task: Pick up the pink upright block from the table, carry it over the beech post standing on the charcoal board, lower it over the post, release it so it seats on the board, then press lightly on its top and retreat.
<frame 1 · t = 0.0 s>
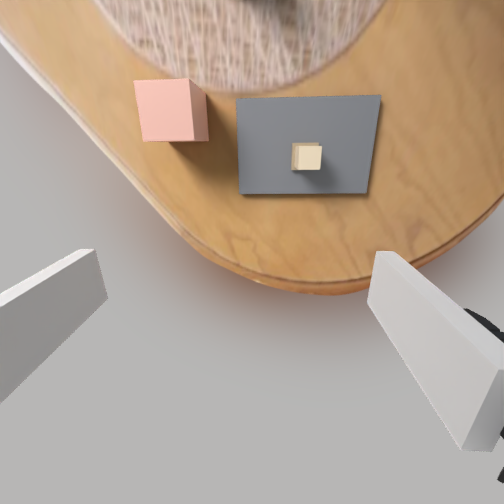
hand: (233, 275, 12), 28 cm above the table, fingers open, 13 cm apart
pink upright block: (186, 118, 35), on the table
post board: (303, 148, 36), on the table
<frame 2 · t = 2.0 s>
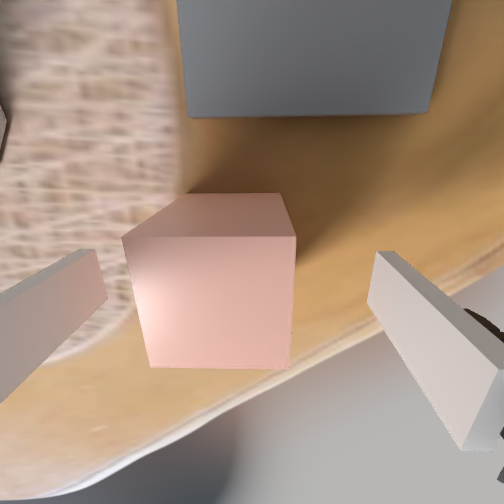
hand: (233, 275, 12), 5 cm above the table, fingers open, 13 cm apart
pink upright block: (234, 237, 17), on the table
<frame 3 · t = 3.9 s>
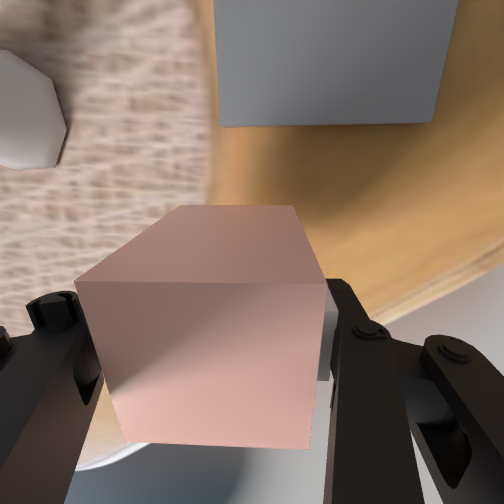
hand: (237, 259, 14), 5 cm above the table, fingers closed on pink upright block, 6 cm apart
pink upright block: (237, 257, 14), point 5 cm above the table, touching gripper
flask: (19, 115, 17), on the table
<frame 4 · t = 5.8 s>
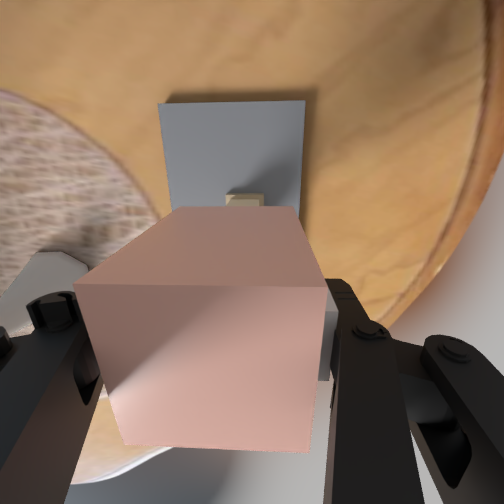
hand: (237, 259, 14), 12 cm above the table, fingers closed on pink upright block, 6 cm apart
pink upright block: (237, 258, 14), point 12 cm above the table, touching gripper
post board: (236, 208, 25), on the table
flask: (65, 277, 30), on the table
when the fingers open (3 cm above the table, at t = 7.6 s): pink upright block drops 1 cm, resting on post board.
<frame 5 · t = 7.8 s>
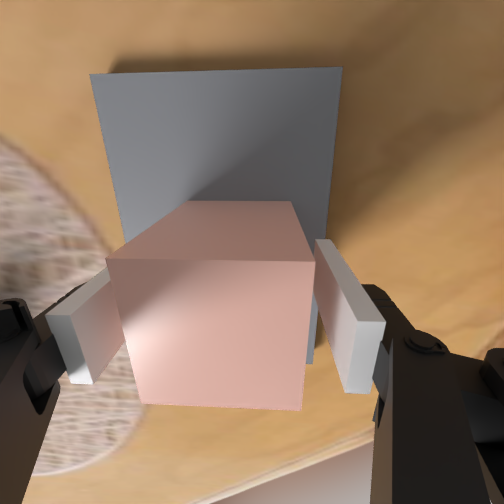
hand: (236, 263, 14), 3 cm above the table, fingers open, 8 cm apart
pink upright block: (239, 249, 16), point 1 cm above the table, touching post board
post board: (226, 241, 17), on the table
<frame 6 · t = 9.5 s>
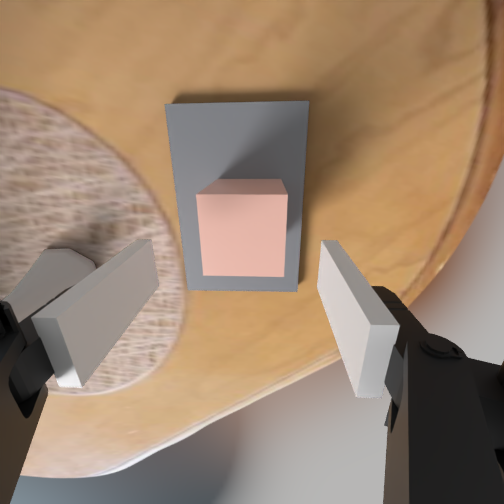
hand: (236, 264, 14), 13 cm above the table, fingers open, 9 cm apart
pink upright block: (249, 210, 25), point 1 cm above the table, touching post board
post board: (240, 206, 26), on the table
flask: (72, 274, 30), on the table
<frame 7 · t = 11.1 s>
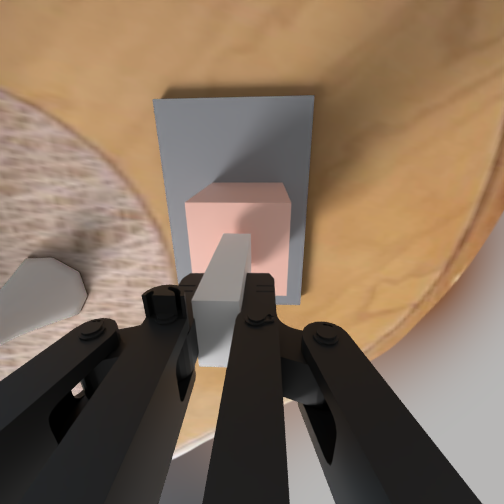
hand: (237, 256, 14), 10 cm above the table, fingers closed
pink upright block: (247, 216, 22), point 1 cm above the table, touching post board
post board: (237, 213, 24), on the table
flask: (56, 285, 28), on the table
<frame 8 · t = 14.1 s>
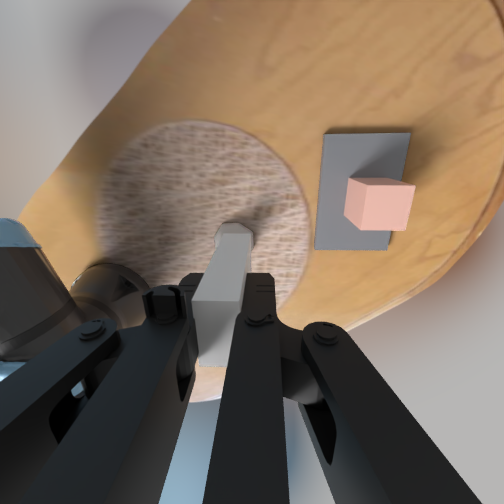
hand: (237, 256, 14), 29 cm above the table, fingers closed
pink upright block: (364, 196, 40), point 1 cm above the table, touching post board
post board: (356, 195, 41), on the table
flask: (234, 241, 46), on the table
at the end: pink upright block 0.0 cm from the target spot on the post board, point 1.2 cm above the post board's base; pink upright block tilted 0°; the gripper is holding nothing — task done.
